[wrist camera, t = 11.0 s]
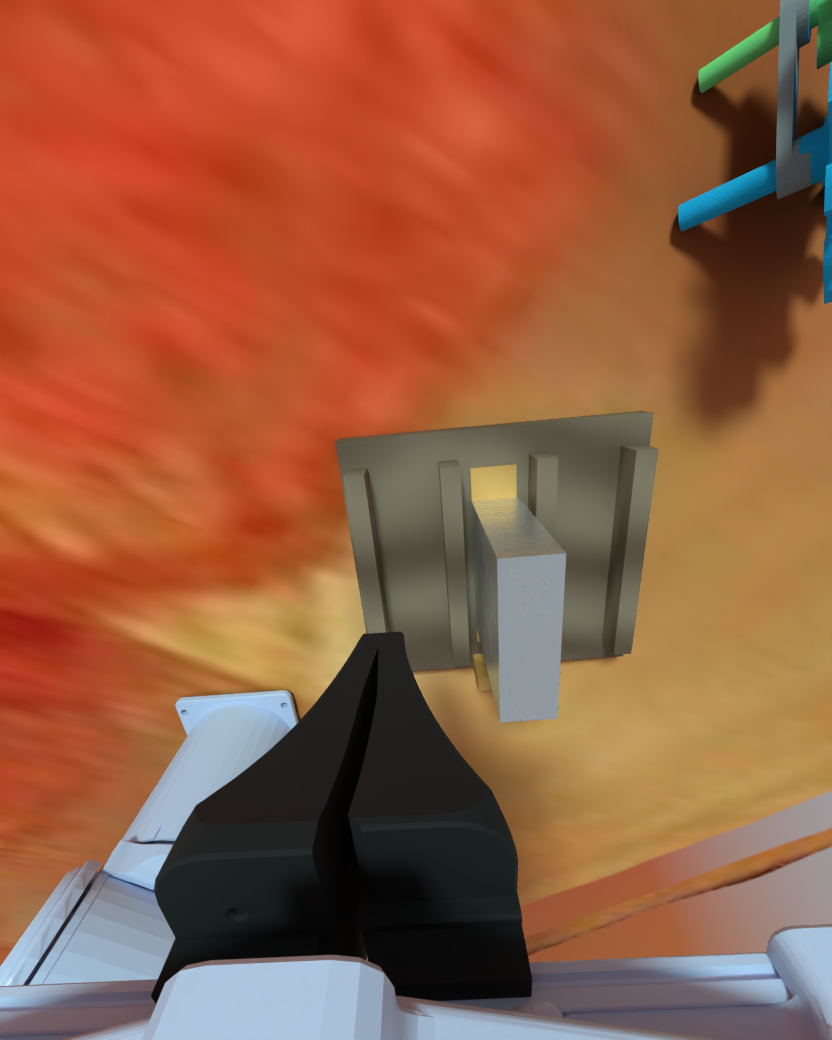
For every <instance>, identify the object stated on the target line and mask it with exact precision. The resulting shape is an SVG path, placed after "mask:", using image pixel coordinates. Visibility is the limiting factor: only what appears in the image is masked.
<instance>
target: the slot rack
mask: <svg viewBox="0 0 832 1040" xmlns="http://www.w3.org/2000/svg"><path fill="white" fill-rule="evenodd" d="M652 419H653V413H652V412H646V411H636V412H626V413H615V414H604V415H593V416H582V417H571V418H560V419H549V420H538V421H527V422H516V423H506V424H495V425H484V426H473V427H462V428H451V429H440V430H429V431H418V432H407V433H396V434H385V435H375V436H364V437H353V438H342V439H338V440H337V441H336V442H335V443H336V449H337V455H338V461H339V467H340V473H341V480H342V486H343V492H344V498H345V504H346V510H347V516H348V523H349V529H350V535H351V541H352V547H353V553H354V559H355V566H356V572H357V578H358V584H359V590H360V596H361V602H362V609H363V615H364V621H365V627H366V633H367V634H369V633H385V632H402V633H403V634H404V639H405V649H406V654H407V658H408V661H409V664H410V667H411V670H412V671H425V670H438V669H452V668H466V667H474V672H475V677H476V682H477V687H478V691H484V690H492V688H491V684H490V680H489V676H488V671H487V667H486V663H485V659H484V655H483V651H482V647H481V643H480V639H479V635H478V631H477V626H476V608H475V583H474V559H473V534H472V510H471V501H473V500H485V499H497V498H509V497H519V499H520V500H521V501H522V502H523V503H524V504H525V506H526V507H527V508H528V509H529V510H530V511H531V513H532V514H533V515H534V516H535V517H536V518H537V520H538V521H539V522H540V523H541V524H542V525H543V527H544V528H545V529H546V530H547V531H548V532H549V534H550V535H551V536H552V537H553V538H554V539H555V541H556V542H557V543H558V544H559V545H560V546H561V548H562V549H563V550H564V551H565V552H566V568H565V586H564V605H563V624H562V642H561V661H562V660H576V659H590V658H604V657H618V656H623V654H631V650H632V642H633V635H634V627H635V620H636V612H637V605H638V597H639V589H640V582H641V574H642V567H643V559H644V552H645V544H646V537H647V529H648V521H649V514H650V506H651V499H652V491H653V484H654V476H655V469H656V461H657V454H658V449H657V448H654V447H650V446H649V444H650V436H651V427H652Z"/></svg>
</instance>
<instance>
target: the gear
mask: <svg viewBox="0 0 832 1040" xmlns="http://www.w3.org/2000/svg"><path fill="white" fill-rule="evenodd" d="M817 25H818V36H817V69H819V68H820V67H822V66H824V65H826V64H827V63H829V62H831V61H832V0H781V2H780V16H779V17H777V18H776V19H774V20H773V21H771V22H770V23H768V24H767V25H765V26H764V27H763V28H761V29H760V30H758V31H757V32H755V33H754V34H752V35H751V36H749V37H748V38H746V39H745V40H743V41H742V42H740V43H739V44H737V45H736V46H734V47H733V48H731V49H730V50H728V51H727V52H725V53H724V54H723V55H721V56H720V57H718V58H717V59H715V60H714V61H712V62H711V63H709V64H708V65H706V66H705V67H703V68H702V69H700V70H699V75H698V80H699V89H700V92H701V94H702V93H703V92H705V91H707V90H708V89H710V88H711V87H713V86H714V85H716V84H718V83H719V82H721V81H722V80H724V79H725V78H727V77H729V76H730V75H732V74H733V73H735V72H736V71H738V70H740V69H741V68H743V67H744V66H746V65H747V64H749V63H751V62H752V61H754V60H755V59H757V58H758V57H760V56H762V55H763V54H765V53H766V52H768V51H769V50H771V49H773V48H774V47H776V46H777V45H779V63H778V102H777V140H776V159H775V160H773V161H771V162H769V163H767V164H765V165H763V166H760V167H758V168H756V169H754V170H752V171H750V172H748V173H746V174H744V175H742V176H739V177H737V178H735V179H733V180H731V181H729V182H727V183H725V184H723V185H721V186H718V187H716V188H714V189H712V190H710V191H708V192H706V193H704V194H702V195H700V196H697V197H695V198H693V199H691V200H689V201H687V202H685V203H683V204H681V205H679V209H678V220H679V226H680V229H681V231H685V230H687V229H689V228H691V227H694V226H696V225H698V224H701V223H703V222H705V221H708V220H710V219H712V218H715V217H717V216H719V215H722V214H724V213H726V212H729V211H731V210H733V209H736V208H738V207H740V206H742V205H745V204H747V203H749V202H752V201H754V200H756V199H759V198H761V197H763V196H766V195H768V194H770V193H773V192H775V191H776V193H777V199H780V198H782V197H785V196H787V195H790V194H792V193H794V192H797V191H799V190H802V189H804V188H806V187H809V186H811V185H814V184H816V183H818V182H821V181H822V187H825V201H824V216H827V229H826V239H825V241H824V256H823V282H824V304H826V303H829V302H832V62H831V66H830V81H829V98H828V117H826V118H825V119H824V126H822V127H820V128H818V129H816V130H814V131H812V132H810V133H808V134H806V135H804V136H802V137H800V138H798V139H796V129H797V101H798V72H799V48H801V47H803V46H804V45H806V44H807V43H809V42H810V37H811V29H812V28H814V27H816V26H817Z"/></svg>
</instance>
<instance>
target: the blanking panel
mask: <svg viewBox="0 0 832 1040" xmlns="http://www.w3.org/2000/svg"><path fill="white" fill-rule="evenodd" d="M471 510H472V534H473V559H474V583H475V608H476V626H477V631H478V635H479V639H480V643H481V647H482V651H483V655H484V659H485V663H486V667H487V671H488V676H489V680H490V684H491V688H492V692H493V696H494V700H495V704H496V708H497V712H498V716H499V721H500V722H515V721H529V720H544V719H557V717H558V698H559V679H560V661H561V642H562V624H563V605H564V586H565V568H566V552H565V551H564V550H563V549H562V548H561V546H560V545H559V544H558V543H557V542H556V541H555V539H554V538H553V537H552V536H551V535H550V534H549V532H548V531H547V530H546V529H545V528H544V527H543V525H542V524H541V523H540V522H539V521H538V520H537V518H536V517H535V516H534V515H533V514H532V513H531V511H530V510H529V509H528V508H527V507H526V506H525V504H524V503H523V502H522V501H521V500H520V499H519V497H509V498H497V499H485V500H473V501H471Z"/></svg>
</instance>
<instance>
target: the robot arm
mask: <svg viewBox="0 0 832 1040" xmlns="http://www.w3.org/2000/svg"><path fill="white" fill-rule="evenodd" d="M285 703H287V704H285ZM176 709H177V711H178V714H179V716H180V719H181V721H182V724H183V726H184V729H185V731H186V734H187V738H186V739H185V741H184V743H183V744H182V746H181V747H180V749H179V750H178V752H177V754H176V755H175V757H174V758H173V760H172V761H171V763H170V765H169V766H168V768H167V769H166V771H165V772H164V774H163V776H162V777H161V779H160V780H159V782H158V783H157V785H156V787H155V788H154V790H153V791H152V793H151V795H150V796H149V798H148V799H147V801H146V802H145V804H144V806H143V807H142V809H141V810H140V812H139V813H138V815H137V817H136V818H135V820H134V821H133V823H132V824H131V826H130V828H129V829H128V831H127V832H126V834H125V835H124V837H123V839H122V840H121V841H120V842H119V843H118V845H117V846H116V848H115V849H114V851H113V852H112V853H111V855H110V856H109V858H108V859H107V861H106V862H105V863H104V865H103V866H102V868H101V869H100V871H99V872H96V871H97V869H98V867H99V866H100V864H101V863H99V862H97V861H95V860H88V861H87V862H86V863H85V864H84V865H83V866H79V867H77V868H75V869H73V870H71V871H69V872H68V873H67V874H66V875H65V876H64V878H63V879H62V880H61V882H60V883H59V885H58V886H57V887H56V889H55V890H54V891H53V893H52V894H51V896H50V897H49V898H48V900H47V901H46V903H45V904H44V905H43V907H42V908H41V910H40V911H39V913H38V914H37V915H36V917H35V918H34V920H33V921H32V922H31V924H30V925H29V927H28V928H27V929H26V931H25V932H24V934H23V935H22V937H21V938H20V939H19V941H18V942H17V944H16V945H15V947H14V948H13V949H12V951H11V952H10V954H9V955H8V957H7V958H6V959H5V961H4V962H3V964H2V965H1V967H0V1040H832V924H822V925H800V926H790V927H784V928H782V929H779V930H777V931H775V932H774V933H773V934H772V935H771V937H770V939H769V941H768V946H767V952H762V953H761V952H759V953H737V954H715V955H691V956H671V957H670V956H669V957H646V958H623V959H601V960H578V961H556V962H533V963H529V959H528V954H527V949H526V944H525V939H524V934H523V929H522V924H521V923H522V915H521V909H520V904H519V899H518V894H517V876H518V858H517V851H516V848H515V844H514V841H513V838H512V835H511V832H510V830H509V827H508V825H507V822H506V820H505V818H504V816H503V813H502V811H501V809H500V807H499V805H498V803H497V801H496V799H495V797H494V795H493V793H492V791H491V789H490V788H489V787H488V786H487V785H486V784H485V783H484V782H483V780H482V779H481V778H480V777H479V776H478V775H477V774H476V773H475V772H474V770H473V769H472V768H471V767H470V766H469V765H468V763H467V762H466V761H465V760H464V758H463V757H462V756H461V755H460V754H459V752H458V751H457V750H456V748H455V747H454V745H453V744H452V743H451V741H450V740H449V738H448V737H447V736H446V734H445V733H444V731H443V730H442V728H441V727H440V725H439V724H438V722H437V720H436V719H435V717H434V716H433V714H432V712H431V710H430V709H429V707H428V705H427V703H426V701H425V699H424V697H423V695H422V693H421V691H420V689H419V687H418V685H417V682H416V680H415V678H414V675H413V672H412V670H411V667H410V664H409V661H408V658H407V654H406V649H405V639H404V634H403V633H402V632H385V633H369V634H363V635H362V637H361V638H360V640H359V642H358V643H357V645H356V647H355V648H354V650H353V652H352V653H351V655H350V656H349V658H348V660H347V661H346V663H345V664H344V666H343V667H342V668H341V670H340V671H339V673H338V674H337V676H336V677H335V679H334V680H333V681H332V683H331V684H330V685H329V686H328V688H327V689H326V690H325V692H324V693H323V694H322V695H321V697H320V698H319V699H318V701H317V702H316V703H315V704H314V705H313V706H312V708H311V709H310V710H309V711H308V712H307V713H306V714H305V715H304V717H303V718H302V719H301V720H300V721H298V718H297V714H296V710H295V706H294V703H293V699H292V695H291V693H289V692H288V691H285V690H282V691H268V692H254V693H240V694H226V695H212V696H198V697H184V698H180V699H179V700H178V701H177V703H176ZM367 958H368V961H367Z"/></svg>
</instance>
